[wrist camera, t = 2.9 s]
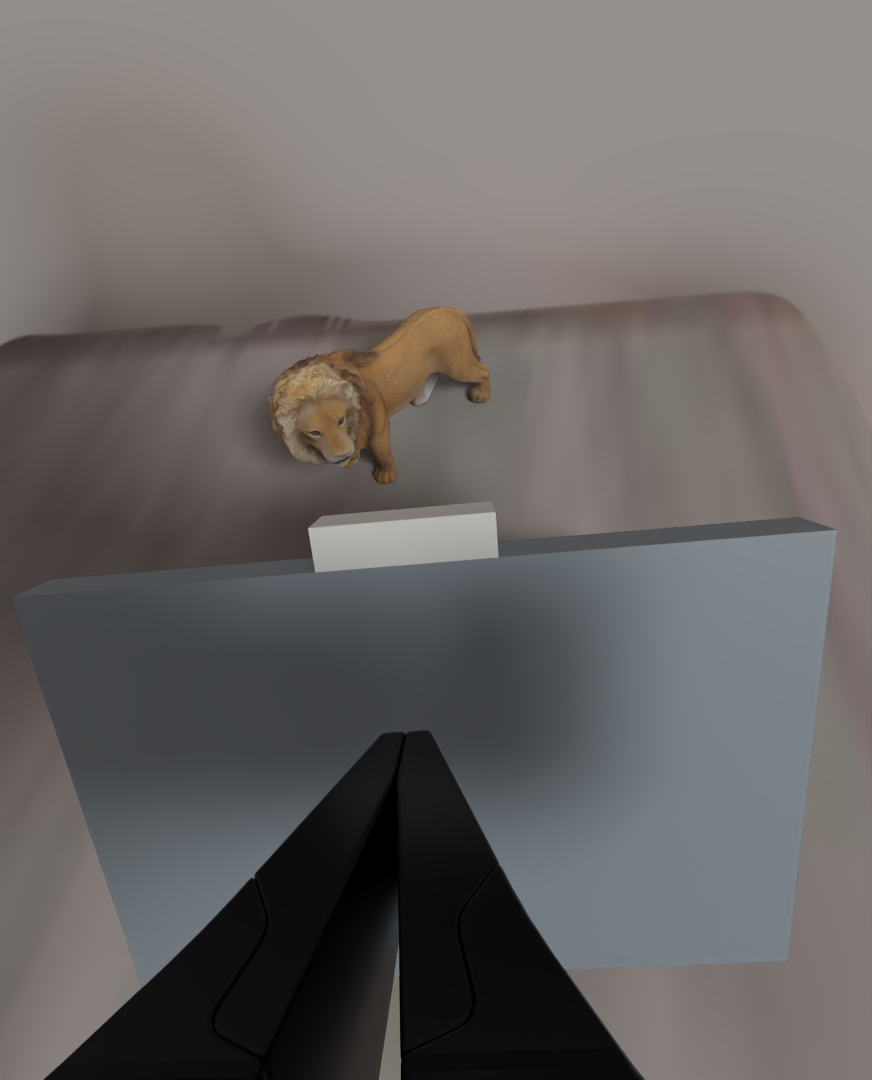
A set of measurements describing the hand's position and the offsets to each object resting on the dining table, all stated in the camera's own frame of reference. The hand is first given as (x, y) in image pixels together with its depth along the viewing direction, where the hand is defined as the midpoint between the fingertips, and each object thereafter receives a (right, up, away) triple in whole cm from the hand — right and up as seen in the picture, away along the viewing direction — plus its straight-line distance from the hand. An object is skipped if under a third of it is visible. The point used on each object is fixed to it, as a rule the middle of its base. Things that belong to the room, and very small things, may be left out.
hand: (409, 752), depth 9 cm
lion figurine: (-1, +9, +21) cm, 24 cm away
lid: (0, -2, +5) cm, 5 cm away
